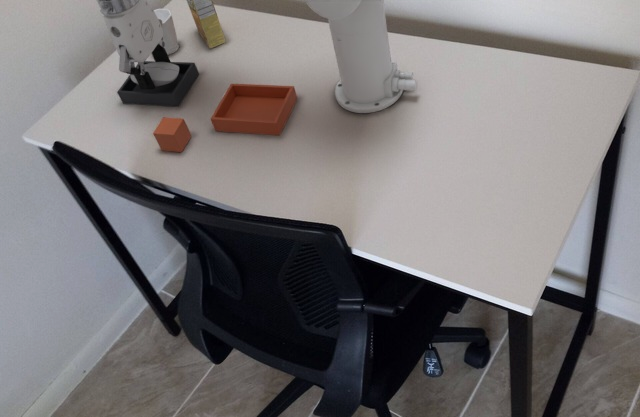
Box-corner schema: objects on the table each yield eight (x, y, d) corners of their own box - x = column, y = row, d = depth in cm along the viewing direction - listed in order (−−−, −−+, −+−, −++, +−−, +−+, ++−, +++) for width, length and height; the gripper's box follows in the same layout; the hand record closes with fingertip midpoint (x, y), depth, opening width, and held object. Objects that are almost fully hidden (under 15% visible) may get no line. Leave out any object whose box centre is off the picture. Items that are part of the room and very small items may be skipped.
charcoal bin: (199, 74, 134) (194, 62, 132) (178, 106, 128) (173, 95, 126) (145, 72, 138) (139, 60, 136) (123, 103, 132) (116, 92, 130)
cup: (165, 62, 139) (151, 30, 133) (141, 48, 145) (126, 17, 139) (190, 45, 142) (177, 13, 136) (165, 32, 148) (152, 0, 142)
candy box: (197, 31, 145) (173, -32, 134) (214, 24, 146) (191, -40, 134) (210, 49, 139) (185, -15, 128) (227, 41, 140) (205, -23, 129)
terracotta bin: (297, 98, 122) (294, 86, 120) (279, 135, 116) (275, 123, 114) (235, 95, 127) (230, 83, 125) (215, 131, 121) (210, 119, 119)
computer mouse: (177, 84, 128) (171, 72, 126) (131, 91, 130) (124, 79, 128) (183, 66, 132) (177, 54, 130) (138, 72, 134) (132, 61, 132)
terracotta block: (191, 135, 121) (183, 118, 118) (182, 152, 119) (173, 134, 116) (171, 134, 123) (163, 116, 120) (161, 150, 120) (152, 133, 117)
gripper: (112, 26, 111) (153, 105, 124) (157, -29, 121) (190, 50, 135) (77, 26, 114) (121, 104, 127) (124, -28, 124) (159, 49, 137)
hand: (156, 75), depth 131 cm, fingers closed on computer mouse, 6 cm apart
